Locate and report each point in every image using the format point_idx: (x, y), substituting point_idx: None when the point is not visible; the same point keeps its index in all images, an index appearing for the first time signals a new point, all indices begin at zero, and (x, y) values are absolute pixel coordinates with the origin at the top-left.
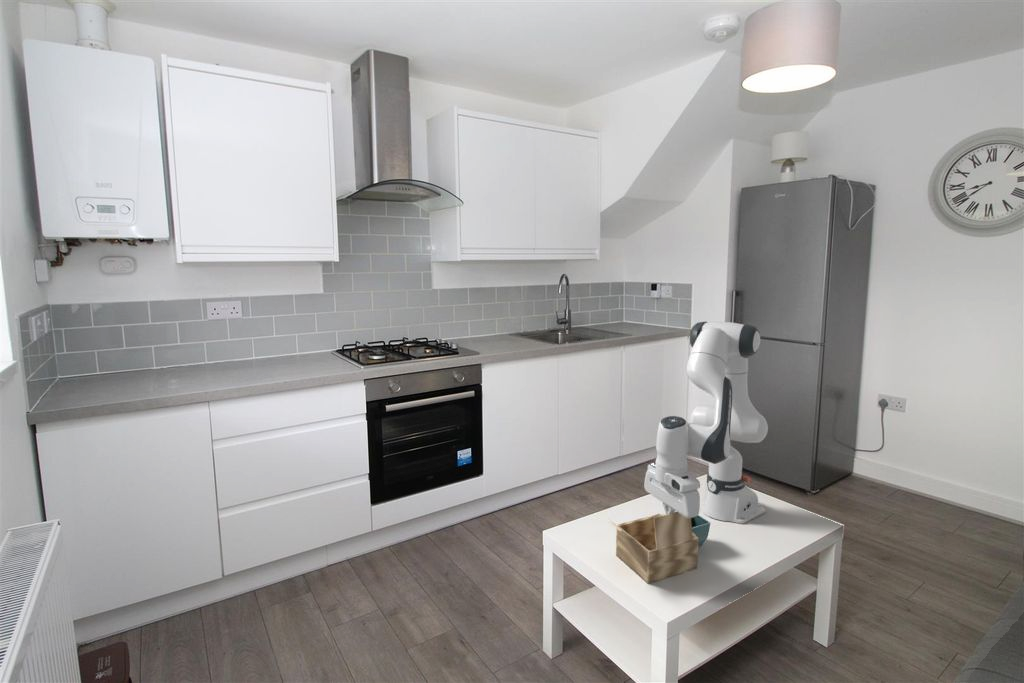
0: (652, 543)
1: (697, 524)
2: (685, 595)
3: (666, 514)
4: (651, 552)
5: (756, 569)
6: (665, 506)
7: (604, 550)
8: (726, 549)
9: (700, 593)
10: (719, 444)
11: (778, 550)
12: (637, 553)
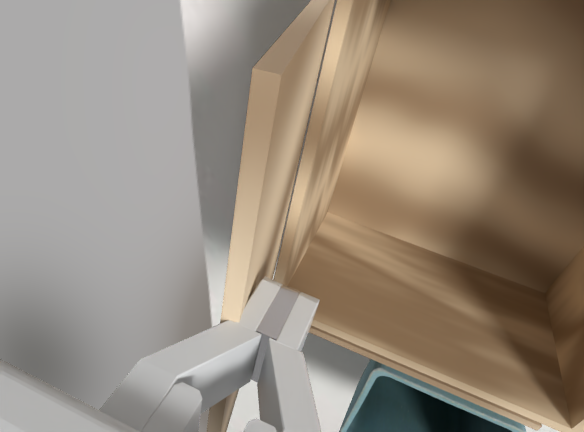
0: (581, 253)
1: (418, 427)
2: (233, 6)
3: (238, 298)
4: None
5: (212, 308)
6: (255, 420)
7: None
8: (323, 358)
9: (213, 73)
10: None
11: (238, 402)
12: None
